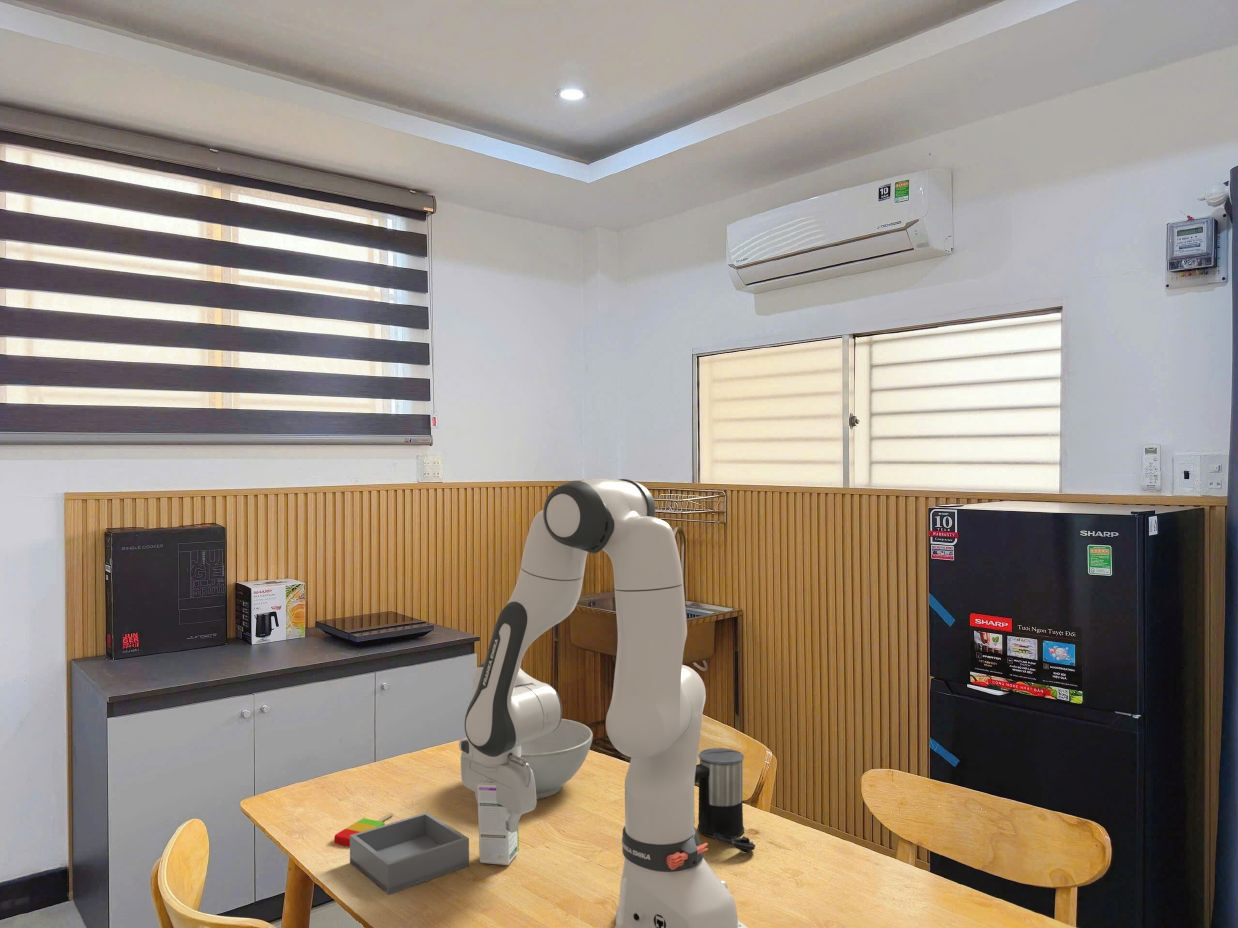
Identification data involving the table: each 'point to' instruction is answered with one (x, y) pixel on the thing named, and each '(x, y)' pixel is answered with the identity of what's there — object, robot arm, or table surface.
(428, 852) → the bin
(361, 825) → the popsicle
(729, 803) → the milk frother
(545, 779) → the decorative bowl
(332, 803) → the table surface
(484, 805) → the syrup box
